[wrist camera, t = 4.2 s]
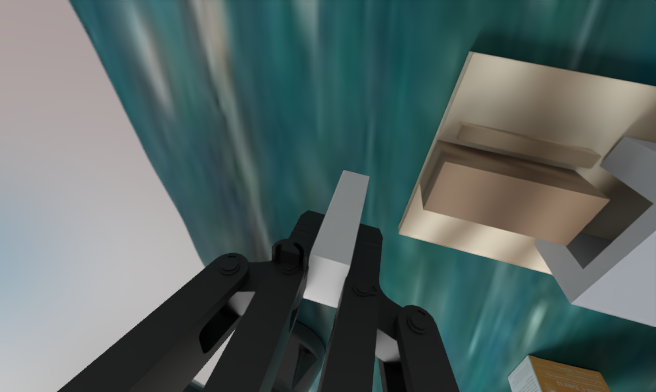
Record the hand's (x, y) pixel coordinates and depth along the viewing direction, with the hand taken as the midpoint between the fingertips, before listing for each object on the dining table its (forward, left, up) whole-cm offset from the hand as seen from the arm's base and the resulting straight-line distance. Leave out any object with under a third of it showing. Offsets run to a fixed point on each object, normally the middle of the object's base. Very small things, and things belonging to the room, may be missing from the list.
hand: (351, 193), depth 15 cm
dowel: (+10, 0, -8) cm, 13 cm away
